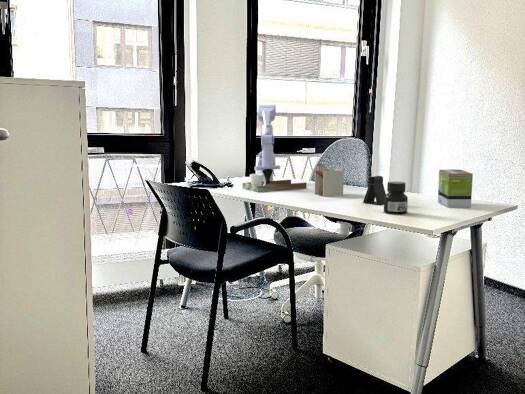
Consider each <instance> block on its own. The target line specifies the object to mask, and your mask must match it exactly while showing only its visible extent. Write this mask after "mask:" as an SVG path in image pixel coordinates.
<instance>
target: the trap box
mask: <svg viewBox="0 0 525 394" xmlns="http://www.w3.org/2000/svg"><path fill="white" fill-rule="evenodd" d="M307 183H308V182H296V183H292V179H281V180H280V179H279V180H273V181H270V184H265V186H263V185H264V181H263V182H262V186H256V185H251V181H250V182H242V189H243V190H247V191H250V192H255V193H265V192H278V191H279V192H280V191H290V190H301V189H302V190H304V189H307V188H308V187H307Z"/></svg>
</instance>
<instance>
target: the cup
mask: <svg viewBox="0 0 525 394" xmlns="http://www.w3.org/2000/svg"><path fill="white" fill-rule="evenodd" d="M263 177H264V176H263V174H257V173H251V174H249V178H250V179H249V180H250V182H251V185H256V186H262V180H263ZM265 184H266V179H265V177H264V185H263V186H265Z"/></svg>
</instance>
